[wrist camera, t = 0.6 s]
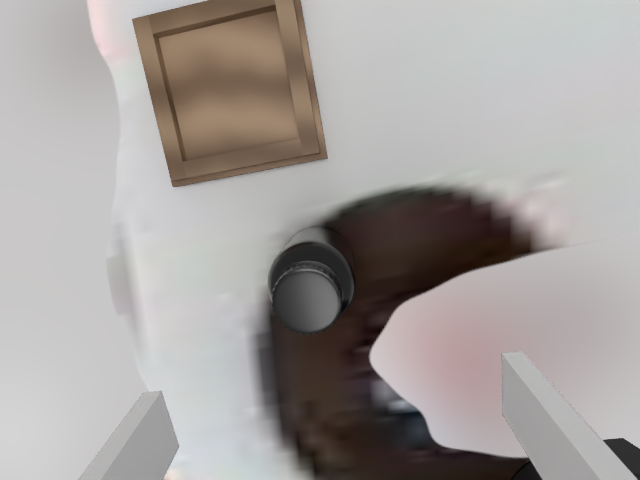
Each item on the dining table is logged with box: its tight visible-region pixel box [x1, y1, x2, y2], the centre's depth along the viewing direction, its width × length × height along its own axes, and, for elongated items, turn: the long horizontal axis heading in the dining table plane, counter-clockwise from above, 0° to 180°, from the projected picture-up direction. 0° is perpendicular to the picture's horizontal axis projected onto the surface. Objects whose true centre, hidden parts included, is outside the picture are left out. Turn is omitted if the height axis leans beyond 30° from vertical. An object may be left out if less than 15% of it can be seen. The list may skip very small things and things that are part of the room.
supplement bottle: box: [268, 226, 356, 335], centre depth 29 cm, size 7×7×12 cm
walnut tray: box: [132, 0, 327, 187], centre depth 32 cm, size 15×15×2 cm
